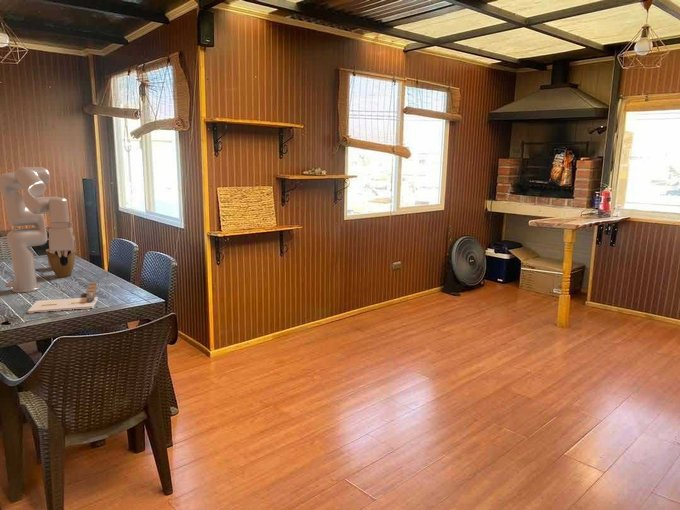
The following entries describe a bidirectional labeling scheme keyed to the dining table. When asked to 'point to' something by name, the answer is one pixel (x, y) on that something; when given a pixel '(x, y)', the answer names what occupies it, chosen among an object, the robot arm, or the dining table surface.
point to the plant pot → (57, 267)
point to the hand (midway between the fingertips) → (64, 265)
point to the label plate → (62, 304)
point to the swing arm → (91, 291)
